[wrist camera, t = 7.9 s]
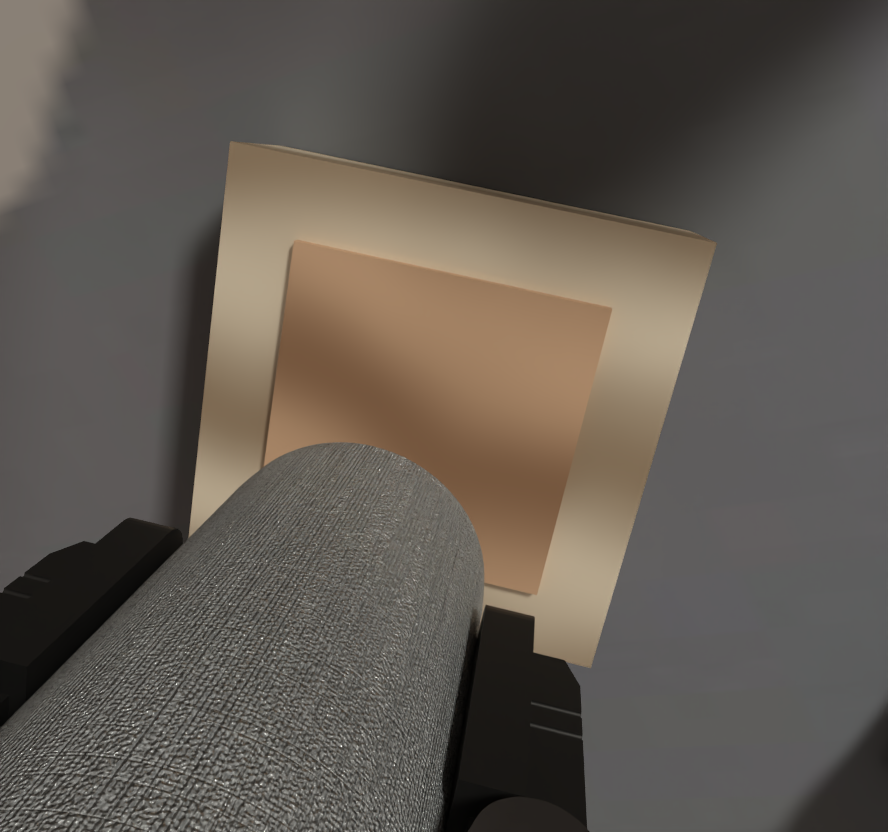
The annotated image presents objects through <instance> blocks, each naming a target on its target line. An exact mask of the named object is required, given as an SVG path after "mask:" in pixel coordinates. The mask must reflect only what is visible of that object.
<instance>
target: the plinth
mask: <svg viewBox="0 0 888 832" xmlns="http://www.w3.org/2000/svg"><path fill="white" fill-rule="evenodd" d="M716 245H717V243H716V242H713V241H711V240H709V239H707V238H705V237H702V236H700V235H698V234H696V233H694V232H691V231H688V230H683V229H679V228H674V227H669V226H664V225H659V224H655V223H650V222H645V221H640V220H635V219H631V218H626V217H621V216H616V215H611V214H607V213H602V212H597V211H592V210H587V209H583V208H578V207H573V206H568V205H563V204H559V203H554V202H549V201H544V200H539V199H535V198H530V197H525V196H520V195H515V194H511V193H506V192H501V191H496V190H491V189H487V188H482V187H477V186H472V185H467V184H463V183H458V182H453V181H448V180H443V179H439V178H434V177H429V176H424V175H419V174H415V173H410V172H405V171H400V170H395V169H391V168H386V167H381V166H376V165H371V164H367V163H362V162H357V161H352V160H347V159H343V158H338V157H333V156H328V155H323V154H319V153H314V152H309V151H304V150H300V149H295V148H290V147H285V146H277V145H266V144H254V143H243V142H231V141H230V149H229V158H228V168H227V177H226V187H225V196H224V206H223V215H222V225H221V234H220V244H219V253H218V263H217V272H216V282H215V291H214V301H213V310H212V320H211V329H210V339H209V348H208V358H207V367H206V377H205V386H204V396H203V405H202V415H201V424H200V434H199V443H198V453H197V462H196V472H195V481H194V491H193V500H192V510H191V519H190V529H189V537H190V536H191V535H192V534H193V533H194V532H195V531H196V530H197V529H198V528H199V527H200V526H201V525H202V524H203V523H204V522H205V521H206V520H207V519H208V518H209V517H210V516H211V515H212V514H213V513H214V512H215V511H216V510H217V509H218V508H219V507H220V506H221V505H222V504H223V503H224V502H225V501H226V500H227V499H228V498H229V497H230V496H231V495H232V494H233V493H234V492H235V491H236V490H237V489H238V488H239V487H240V486H241V485H242V484H243V483H244V482H245V481H247V480H248V479H249V478H250V477H252V476H253V475H254V474H255V473H257V472H258V471H259V470H260V469H261V468H263V467H264V466H265V465H267V464H268V463H270V462H271V461H273V460H274V459H276V458H278V457H280V456H282V455H284V454H286V453H288V452H291V451H294V450H296V449H299V448H303V447H306V446H310V445H315V444H321V443H333V442H346V443H358V444H365V445H370V446H374V447H378V448H381V449H385V450H388V451H390V452H393V453H396V454H398V455H400V456H403V457H405V458H407V459H409V460H410V461H412V462H414V463H416V464H417V465H419V466H420V467H422V468H424V469H425V470H426V471H428V472H429V473H431V474H432V475H433V476H434V477H436V478H437V479H438V480H439V481H440V482H441V483H442V484H443V485H444V486H445V487H446V488H447V489H448V490H449V491H450V492H451V493H452V494H453V495H454V497H455V498H456V499H457V500H458V502H459V503H460V504H461V506H462V507H463V509H464V510H465V512H466V513H467V515H468V517H469V519H470V521H471V523H472V525H473V527H474V529H475V532H476V534H477V537H478V540H479V543H480V547H481V550H482V555H483V562H484V596H483V608H482V615H481V620H482V616H483V612H484V608H485V605H490V606H494V607H498V608H502V609H506V610H510V611H515V612H519V613H523V614H527V615H531V616H534V617H535V628H534V650H533V652H534V653H538V654H542V655H546V656H550V657H554V658H558V659H562V660H565V662H569V663H573V664H577V665H581V666H585V667H589V668H591V665H592V662H593V658H594V655H595V652H596V648H597V645H598V642H599V638H600V635H601V631H602V628H603V625H604V621H605V618H606V615H607V611H608V608H609V604H610V601H611V598H612V594H613V591H614V588H615V584H616V581H617V578H618V574H619V571H620V567H621V564H622V561H623V557H624V554H625V551H626V547H627V544H628V541H629V537H630V534H631V530H632V527H633V524H634V520H635V517H636V514H637V510H638V507H639V504H640V500H641V497H642V493H643V490H644V487H645V483H646V480H647V477H648V473H649V470H650V467H651V463H652V460H653V456H654V453H655V450H656V446H657V443H658V440H659V436H660V433H661V430H662V426H663V423H664V419H665V416H666V413H667V409H668V406H669V403H670V399H671V396H672V393H673V389H674V386H675V382H676V379H677V376H678V372H679V369H680V366H681V362H682V359H683V356H684V352H685V349H686V345H687V342H688V339H689V335H690V332H691V329H692V325H693V322H694V319H695V315H696V312H697V308H698V305H699V302H700V298H701V295H702V292H703V288H704V285H705V282H706V278H707V275H708V271H709V268H710V265H711V261H712V258H713V255H714V251H715V248H716ZM480 624H481V621H480ZM479 628H480V627H479Z"/></svg>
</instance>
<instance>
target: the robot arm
mask: <svg viewBox="0 0 888 832" xmlns="http://www.w3.org/2000/svg"><path fill="white" fill-rule="evenodd" d="M182 543H183V542H182V534H181V532H180V530H178V529H176V528H172V527H167V526H163V525H159V524H155V523H151V522H147V521H143V520H139V519H134V518H128V519H126V520H124V521H123V522H121V523H120V524H119V525H118V526H117V527H115V528H114V529H113V530H112V531H110V532H109V533H108V534H107V535H105V536H104V537H103V538H102V539H101V540H99V541H98V542H97V543H96V544H94V543H90V542H86V541H83V542H80V543H78V544H75V545H72V546H69V547H67V548H64V549H61V550H59V551H56V552H53V553H50V554H49V555H47V556H46V557H45V558H43V559H42V560H41V561H39V562H38V563H37V564H35V565H34V566H33V567H31V568H30V569H29V570H28V571H26V572H25V574H24V576H23V577H21V576H20V577H18V578H17V579H16V580H14V581H13V582H12V583H10V584H9V585H8V586H6V587H5V588H4V591H3V593H0V728H1V727H2V726H3V725H4V724H5V723H6V721H7V720H8V719H9V718H10V717H11V716H12V715H13V714H14V713H15V712H16V711H17V710H18V709H19V708H20V707H21V706H22V705H23V704H24V703H25V702H26V701H27V700H28V699H29V698H30V697H31V696H32V695H33V694H34V693H35V692H36V691H37V690H38V689H39V688H40V687H41V686H42V685H43V684H44V683H45V682H46V681H47V680H48V679H49V678H50V677H51V676H52V675H53V674H54V673H55V672H56V671H57V670H58V669H59V668H60V667H61V666H62V665H63V664H64V663H65V662H66V661H67V660H68V659H69V658H70V657H71V656H72V655H73V654H74V653H75V652H76V651H77V650H78V649H79V648H80V647H81V646H82V645H83V644H84V643H85V642H86V641H87V640H88V639H89V638H90V637H91V636H92V635H93V634H94V633H95V632H96V631H97V630H98V629H99V628H100V627H101V626H102V625H103V624H104V623H105V622H106V621H107V620H108V619H109V618H110V617H111V616H112V615H113V614H114V613H115V612H116V611H117V610H118V609H119V608H120V607H121V606H122V605H123V604H124V603H125V602H126V601H127V600H128V599H129V598H130V597H131V596H132V595H133V594H134V593H135V592H136V591H137V590H138V589H139V588H140V587H141V586H142V585H143V584H144V582H145V581H146V580H147V579H148V578H149V577H150V576H151V575H152V574H153V573H154V572H155V571H156V570H157V569H158V568H159V567H160V566H161V565H162V564H163V563H164V562H165V561H166V560H167V559H168V558H169V557H170V556H171V555H172V554H173V553H174V552H175V551H176V550H177V549H178V548H179V547H180V546H181V545H182ZM534 628H535V617H534V616H531V615H527V614H523V613H519V612H515V611H510V610H506V609H502V608H498V607H494V606H490V605H485V608H484V612H483V616H482V620H481V624H480V628H479V632H478V636H477V641H476V647H475V653H474V659H473V665H472V671H471V677H470V683H469V689H468V695H467V701H466V707H465V713H464V719H463V725H462V731H461V737H460V743H459V749H458V755H457V761H456V767H455V773H454V779H453V785H452V791H451V797H450V803H449V809H448V815H447V821H446V827H445V832H589V831H588V829H587V819H586V798H585V777H584V757H583V740H582V718H581V694H580V685H579V683H578V682H577V680H576V678H575V677H574V675H573V674H572V672H571V670H570V669H569V667H568V665H567V664H566V662H565V660H562V659H558V658H554V657H550V656H546V655H542V654H538V653H534V652H533V650H534Z"/></svg>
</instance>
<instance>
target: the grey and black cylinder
mask: <svg viewBox="0 0 888 832" xmlns="http://www.w3.org/2000/svg"><path fill="white" fill-rule="evenodd" d="M483 596H484V562H483V555H482V550H481V547H480V543H479V540H478V537H477V534H476V532H475V529H474V527H473V525H472V523H471V521H470V519H469V517H468V515H467V513H466V512H465V510H464V509H463V507H462V506H461V504H460V503H459V502H458V500H457V499H456V498H455V497H454V495H453V494H452V493H451V492H450V491H449V490H448V489H447V488H446V487H445V486H444V485H443V484H442V483H441V482H440V481H439V480H438V479H437V478H436V477H434V476H433V475H432V474H431V473H429V472H428V471H426V470H425V469H424V468H422V467H420V466H419V465H417V464H416V463H414V462H412V461H410V460H409V459H407V458H405V457H403V456H400V455H398V454H396V453H393V452H390V451H388V450H385V449H381V448H378V447H374V446H370V445H365V444H358V443H346V442H333V443H321V444H315V445H310V446H306V447H303V448H299V449H296V450H294V451H291V452H288V453H286V454H284V455H282V456H280V457H278V458H276V459H274V460H273V461H271V462H270V463H268V464H267V465H265V466H264V467H263V468H261V469H260V470H259V471H258V472H257V473H255V474H254V475H253V476H252V477H250V478H249V479H248V480H247V481H245V482H244V483H243V484H242V485H241V486H240V487H239V488H238V489H237V490H236V491H235V492H234V493H233V494H232V495H231V496H230V497H229V498H228V499H227V500H226V501H225V502H224V503H223V504H222V505H221V506H220V507H219V508H218V509H217V510H216V511H215V512H214V513H213V514H212V515H211V516H210V517H209V518H208V519H207V520H206V521H205V522H204V523H203V524H202V525H201V526H200V527H199V528H198V529H197V530H196V531H195V532H194V533H193V534H192V535H191V536H190V537H189V538H188V539H187V540H186V541H185V542H184V543H183V544H182V545H181V546H180V547H179V548H178V549H177V550H176V551H175V552H174V553H173V554H172V555H171V556H170V557H169V558H168V559H167V560H166V561H165V562H164V563H163V564H162V565H161V566H160V567H159V568H158V569H157V570H156V571H155V572H154V573H153V574H152V575H151V576H150V577H149V578H148V579H147V580H146V581H145V582H144V584H143V585H142V586H141V587H140V588H139V589H138V590H137V591H136V592H135V593H134V594H133V595H132V596H131V597H130V598H129V599H128V600H127V601H126V602H125V603H124V604H123V605H122V606H121V607H120V608H119V609H118V610H117V611H116V612H115V613H114V614H113V615H112V616H111V617H110V618H109V619H108V620H107V621H106V622H105V623H104V624H103V625H102V626H101V627H100V628H99V629H98V630H97V631H96V632H95V633H94V634H93V635H92V636H91V637H90V638H89V639H88V640H87V641H86V642H85V643H84V644H83V645H82V646H81V647H80V648H79V649H78V650H77V651H76V652H75V653H74V654H73V655H72V656H71V657H70V658H69V659H68V660H67V661H66V662H65V663H64V664H63V665H62V666H61V667H60V668H59V669H58V670H57V671H56V672H55V673H54V674H53V675H52V676H51V677H50V678H49V679H48V680H47V681H46V682H45V683H44V684H43V685H42V686H41V687H40V688H39V689H38V690H37V691H36V692H35V693H34V694H33V695H32V696H31V697H30V698H29V699H28V700H27V701H26V702H25V703H24V704H23V705H22V706H21V707H20V708H19V709H18V710H17V711H16V712H15V713H14V714H13V715H12V716H11V717H10V718H9V719H8V720H7V721H6V723H5V724H4V725H3V726H2V727H1V728H0V832H445V827H446V821H447V815H448V809H449V803H450V797H451V791H452V785H453V779H454V773H455V767H456V761H457V755H458V749H459V743H460V737H461V731H462V725H463V719H464V713H465V707H466V701H467V695H468V689H469V683H470V677H471V671H472V665H473V659H474V653H475V647H476V641H477V636H478V632H479V627H480V621H481V615H482V608H483Z"/></svg>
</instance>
